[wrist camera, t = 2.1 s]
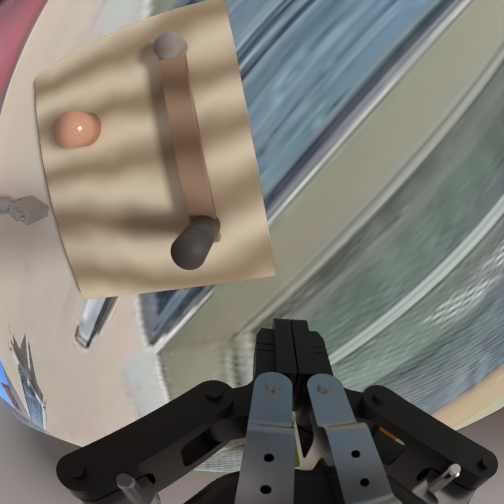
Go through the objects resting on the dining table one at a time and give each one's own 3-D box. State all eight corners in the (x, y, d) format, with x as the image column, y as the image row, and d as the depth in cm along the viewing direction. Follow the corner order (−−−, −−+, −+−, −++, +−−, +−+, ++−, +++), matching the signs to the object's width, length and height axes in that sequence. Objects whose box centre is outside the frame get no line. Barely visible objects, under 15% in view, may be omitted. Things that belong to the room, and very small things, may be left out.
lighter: (49, 206, 31) (10, 222, 24) (46, 217, 32) (9, 234, 24) (20, 188, 30) (-18, 200, 23) (18, 198, 31) (-18, 212, 23)
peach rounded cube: (72, 120, 25) (51, 119, 22) (98, 107, 25) (78, 104, 21) (77, 151, 27) (56, 153, 23) (103, 140, 26) (84, 140, 23)
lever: (158, 43, 22) (126, 15, 14) (185, 34, 22) (161, 2, 14) (196, 241, 29) (174, 273, 22) (224, 236, 29) (211, 268, 22)
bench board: (43, 78, 25) (34, 76, 23) (225, 4, 22) (223, -3, 20) (90, 292, 36) (84, 299, 34) (274, 268, 33) (275, 275, 31)
